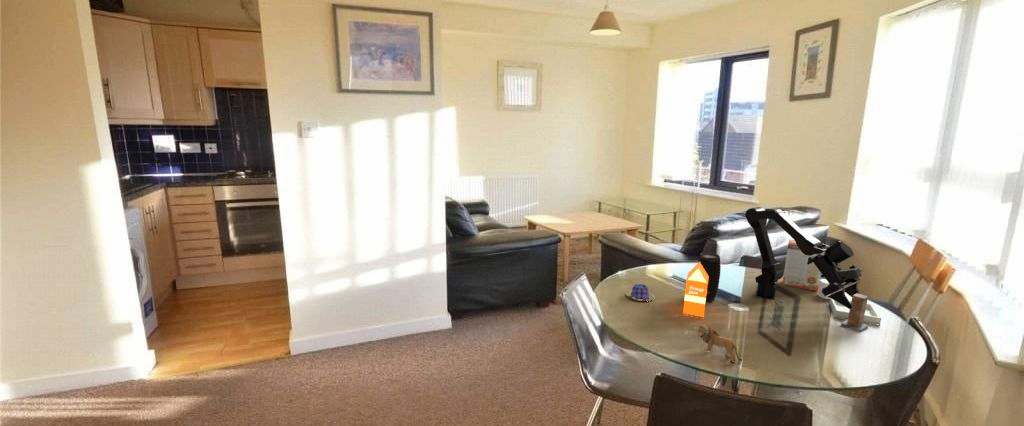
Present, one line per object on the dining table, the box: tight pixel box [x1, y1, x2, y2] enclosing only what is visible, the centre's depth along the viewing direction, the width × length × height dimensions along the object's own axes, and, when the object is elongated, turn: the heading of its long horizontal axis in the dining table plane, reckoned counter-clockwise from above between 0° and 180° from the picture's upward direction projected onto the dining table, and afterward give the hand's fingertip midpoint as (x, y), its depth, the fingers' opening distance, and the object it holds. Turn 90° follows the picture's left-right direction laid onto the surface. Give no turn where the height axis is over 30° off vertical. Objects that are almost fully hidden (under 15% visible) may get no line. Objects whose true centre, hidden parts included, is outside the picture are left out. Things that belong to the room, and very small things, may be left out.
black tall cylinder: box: [697, 252, 722, 303], centre depth 191 cm, size 9×9×20 cm
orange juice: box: [682, 262, 709, 318], centre depth 179 cm, size 8×9×20 cm
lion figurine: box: [696, 323, 743, 363], centre depth 149 cm, size 15×5×9 cm, turn 52°
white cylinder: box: [817, 278, 830, 300], centre depth 197 cm, size 7×7×7 cm
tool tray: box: [829, 298, 882, 326], centre depth 181 cm, size 14×14×3 cm
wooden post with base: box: [840, 293, 869, 333], centre depth 169 cm, size 6×6×12 cm
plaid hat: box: [631, 283, 655, 302], centre depth 194 cm, size 12×12×5 cm
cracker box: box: [782, 239, 826, 292], centre depth 206 cm, size 14×6×21 cm, turn 58°
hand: (856, 305), depth 169 cm, fingers open, 9 cm apart
